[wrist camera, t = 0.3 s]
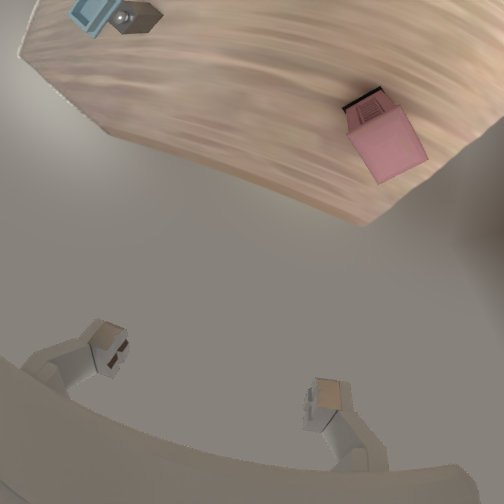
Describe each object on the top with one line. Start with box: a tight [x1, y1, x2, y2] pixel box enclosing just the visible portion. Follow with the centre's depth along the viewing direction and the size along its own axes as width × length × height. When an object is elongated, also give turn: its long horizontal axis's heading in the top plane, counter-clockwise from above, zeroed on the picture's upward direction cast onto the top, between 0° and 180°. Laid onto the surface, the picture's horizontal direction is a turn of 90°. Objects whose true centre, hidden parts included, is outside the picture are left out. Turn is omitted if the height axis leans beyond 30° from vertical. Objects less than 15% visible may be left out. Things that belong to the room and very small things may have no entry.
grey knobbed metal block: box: [108, 1, 164, 34], centre depth 38 cm, size 5×5×10 cm
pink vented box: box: [342, 86, 428, 185], centre depth 40 cm, size 9×9×20 cm
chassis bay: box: [67, 0, 124, 39], centre depth 38 cm, size 12×11×4 cm
